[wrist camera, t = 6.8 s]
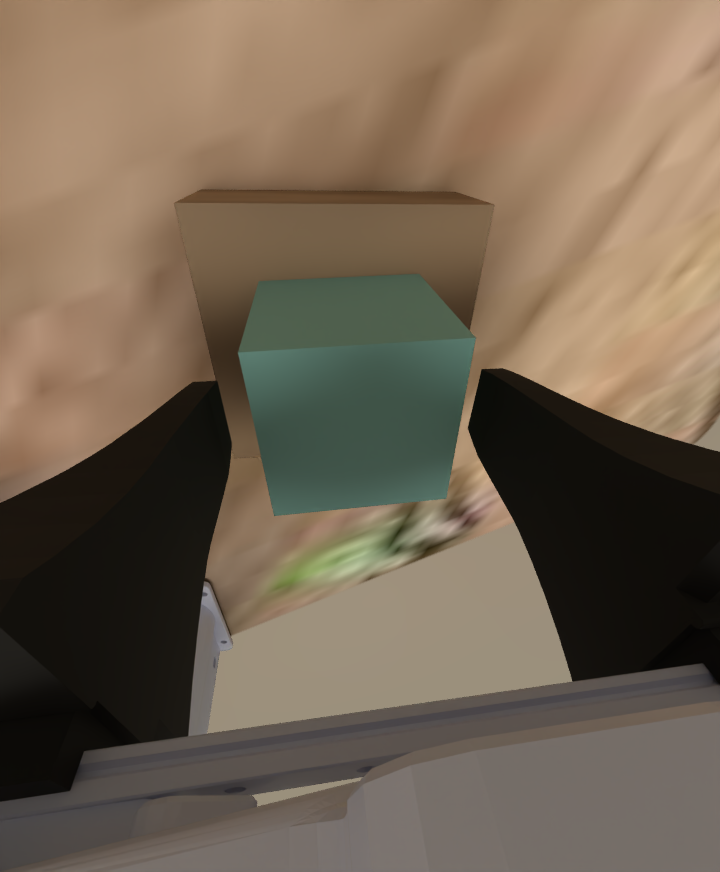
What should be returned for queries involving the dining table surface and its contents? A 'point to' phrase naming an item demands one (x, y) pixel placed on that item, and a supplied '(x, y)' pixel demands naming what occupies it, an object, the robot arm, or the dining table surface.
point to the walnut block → (319, 258)
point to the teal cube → (354, 390)
